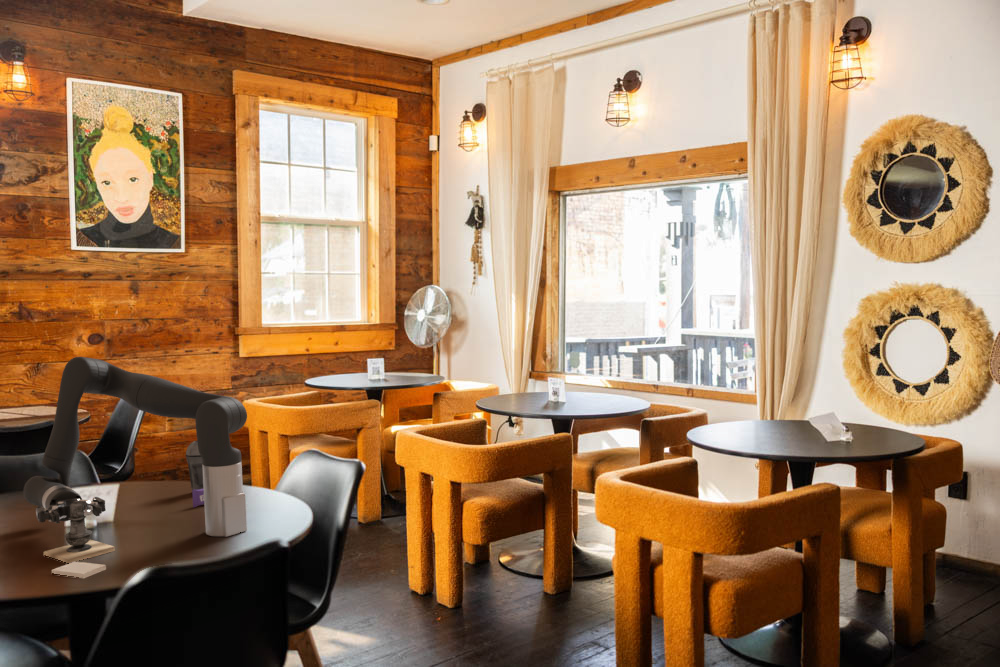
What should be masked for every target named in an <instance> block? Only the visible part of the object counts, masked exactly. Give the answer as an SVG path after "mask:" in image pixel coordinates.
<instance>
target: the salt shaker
mask: <svg viewBox="0 0 1000 667" xmlns="http://www.w3.org/2000/svg"><path fill="white" fill-rule="evenodd" d="M77 500H78V499H77V498H76V499H75V502H73V503H72V504H71V505H70V518H69V522H70V523H69V525H70V529H69V531H68V532H67V533H65V534H64V535H63V537H64V538H65V541H66V543H67V545H72V546H71V547H69V548H68V549H67V550H66V551H67V552H72V553H73V552H82V551H86V550H89V549H91V548H92V546H91V545H89V544H86V543H87V542H88V541H89V540H91V537H92V534H93V530H89V529H87V527H86V522H85V521H86V520H85V518H87V515H84V512H85V510H84V506H83V503H82V502H79V501H77Z"/></svg>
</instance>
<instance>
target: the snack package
mask: <svg viewBox="0 0 1000 667" xmlns="http://www.w3.org/2000/svg"><path fill="white" fill-rule="evenodd" d="M191 493H192V494H191V495H192V508H197V507H198V506H201V505H202V506H203V505H204V489H199V490H192V489H191Z"/></svg>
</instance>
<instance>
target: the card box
mask: <svg viewBox="0 0 1000 667" xmlns="http://www.w3.org/2000/svg"><path fill="white" fill-rule="evenodd" d="M106 566H107V565H106V564H100V563H93V562H83V561H82V562H81V561H77V562H75V561H74V562H72V563H69V564H67V563H65V565H61V566H58V567H56V568H54V569H51V574H52V573H54V574H60V575H67V576H66V577H68V576H74V577H73V578H76V577H79V578H78V579H86V578H88V577H90V576H93V575H96V574H98V573H100V572H103V571H106V570H107V567H106ZM60 575H59V576H60Z"/></svg>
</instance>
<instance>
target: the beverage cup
mask: <svg viewBox="0 0 1000 667" xmlns="http://www.w3.org/2000/svg"><path fill="white" fill-rule="evenodd" d="M185 460H186V462H187V466H188V467H187V468H188V473H189V480H190V488H191V491H192V490H199V489H204V487H203V466H202V465H203V464H202V458H201V456H200V454H199V451H198V443H197V440H194V441H192V442H191V443H190V444H188V446H187V448H186V451H185Z"/></svg>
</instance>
